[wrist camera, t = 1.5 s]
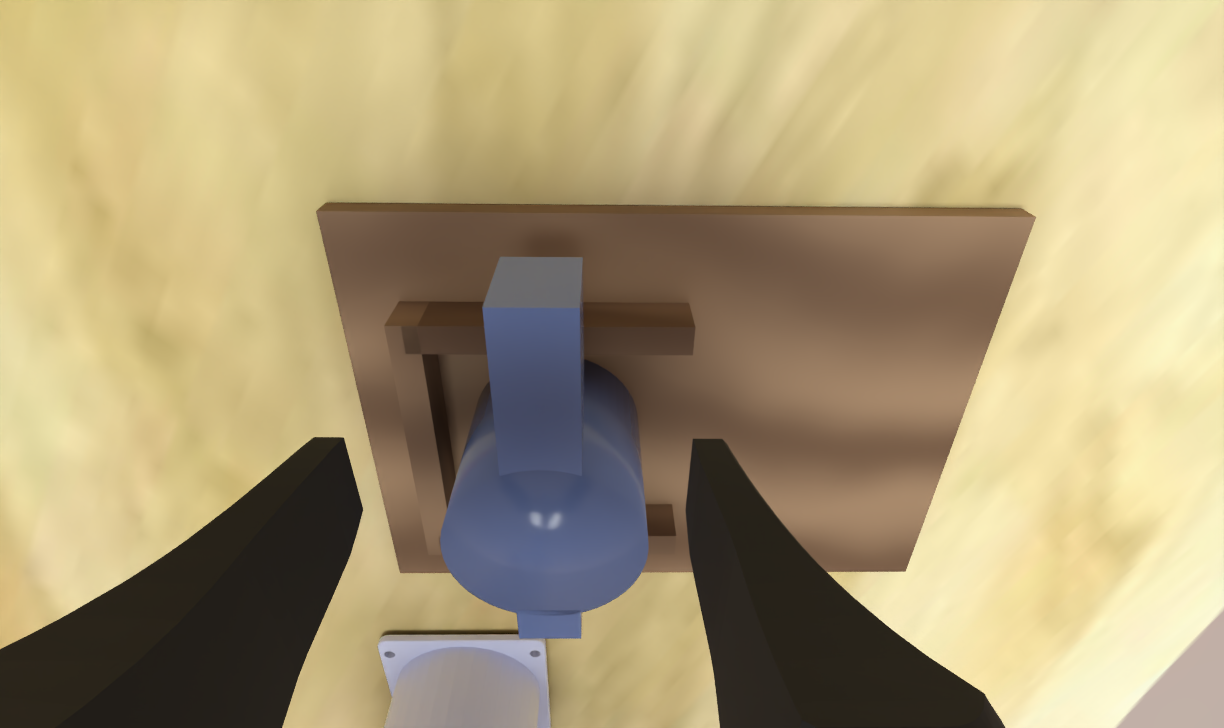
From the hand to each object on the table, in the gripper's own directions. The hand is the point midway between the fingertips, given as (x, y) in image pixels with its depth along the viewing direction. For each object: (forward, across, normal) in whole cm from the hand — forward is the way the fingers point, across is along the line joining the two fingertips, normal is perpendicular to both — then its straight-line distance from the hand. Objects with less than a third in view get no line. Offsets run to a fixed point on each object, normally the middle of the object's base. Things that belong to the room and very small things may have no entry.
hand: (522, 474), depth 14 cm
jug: (+9, 0, +4) cm, 9 cm away
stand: (+10, -4, +6) cm, 12 cm away
